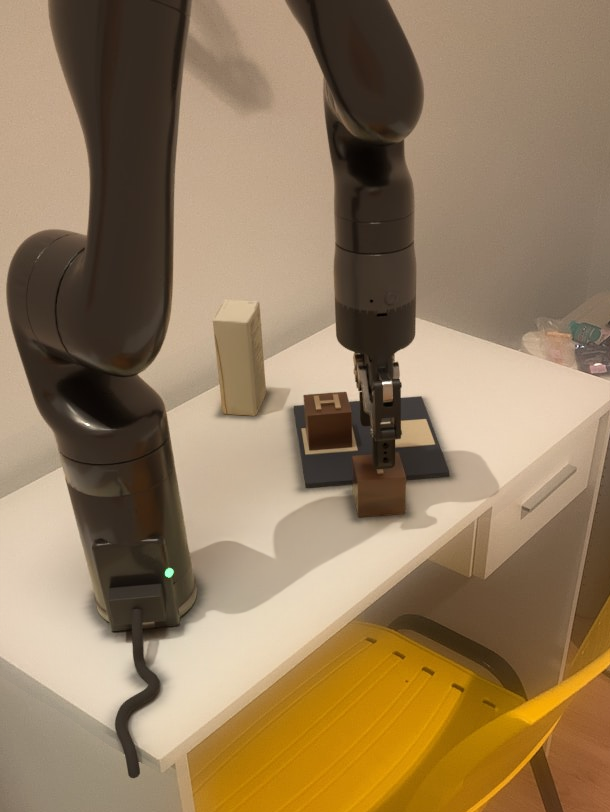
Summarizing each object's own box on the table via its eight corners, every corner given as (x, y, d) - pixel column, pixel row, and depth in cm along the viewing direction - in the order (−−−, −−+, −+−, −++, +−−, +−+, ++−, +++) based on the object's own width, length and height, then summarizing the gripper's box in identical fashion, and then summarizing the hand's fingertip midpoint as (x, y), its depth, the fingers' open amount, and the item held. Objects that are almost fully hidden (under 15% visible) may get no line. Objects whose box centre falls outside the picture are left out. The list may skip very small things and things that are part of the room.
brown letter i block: (405, 513, 101) (406, 475, 98) (358, 517, 101) (357, 479, 98) (398, 488, 105) (398, 450, 102) (352, 491, 104) (351, 454, 101)
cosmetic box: (234, 391, 122) (224, 297, 114) (268, 393, 122) (260, 299, 114) (221, 415, 118) (210, 319, 110) (257, 417, 117) (248, 321, 109)
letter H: (352, 447, 110) (351, 410, 107) (309, 450, 110) (307, 413, 107) (347, 426, 114) (346, 389, 111) (305, 429, 113) (303, 392, 110)
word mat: (449, 476, 106) (449, 471, 106) (305, 488, 105) (305, 482, 105) (421, 400, 120) (421, 395, 119) (293, 409, 118) (293, 404, 118)
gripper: (325, 264, 93) (332, 414, 104) (345, 326, 82) (350, 486, 93) (401, 258, 94) (400, 408, 104) (430, 319, 83) (426, 478, 94)
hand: (377, 445), depth 99 cm, fingers open, 8 cm apart
